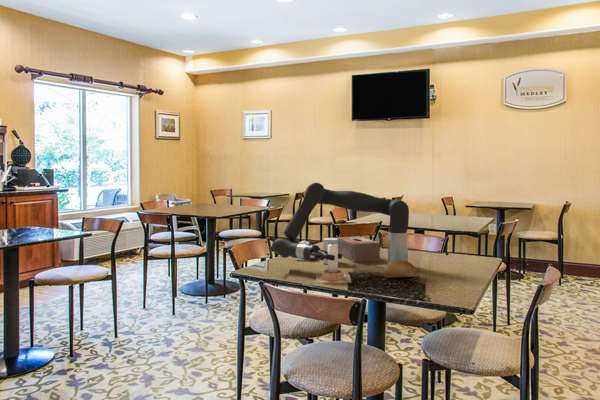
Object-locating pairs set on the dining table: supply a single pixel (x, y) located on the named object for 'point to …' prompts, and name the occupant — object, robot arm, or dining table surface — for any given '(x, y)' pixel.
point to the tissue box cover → (359, 249)
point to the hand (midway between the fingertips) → (337, 257)
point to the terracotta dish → (333, 275)
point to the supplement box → (327, 242)
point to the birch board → (320, 280)
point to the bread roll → (399, 269)
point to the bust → (302, 243)
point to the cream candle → (333, 264)
